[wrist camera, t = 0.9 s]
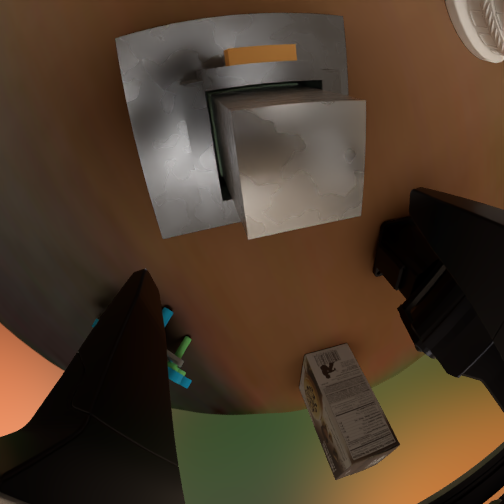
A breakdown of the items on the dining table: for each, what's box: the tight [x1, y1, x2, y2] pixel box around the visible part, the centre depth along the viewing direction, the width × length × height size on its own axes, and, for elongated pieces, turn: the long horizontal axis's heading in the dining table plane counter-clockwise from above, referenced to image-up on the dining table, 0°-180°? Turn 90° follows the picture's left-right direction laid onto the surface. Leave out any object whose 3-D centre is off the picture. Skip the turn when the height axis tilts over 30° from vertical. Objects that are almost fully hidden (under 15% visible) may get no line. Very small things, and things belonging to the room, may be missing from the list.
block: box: [206, 82, 366, 240], centre depth 13 cm, size 5×5×9 cm
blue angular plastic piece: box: [92, 307, 192, 388], centre depth 25 cm, size 11×6×10 cm
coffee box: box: [299, 343, 400, 480], centre depth 32 cm, size 9×6×16 cm
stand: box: [115, 13, 348, 239], centre depth 16 cm, size 14×14×7 cm
